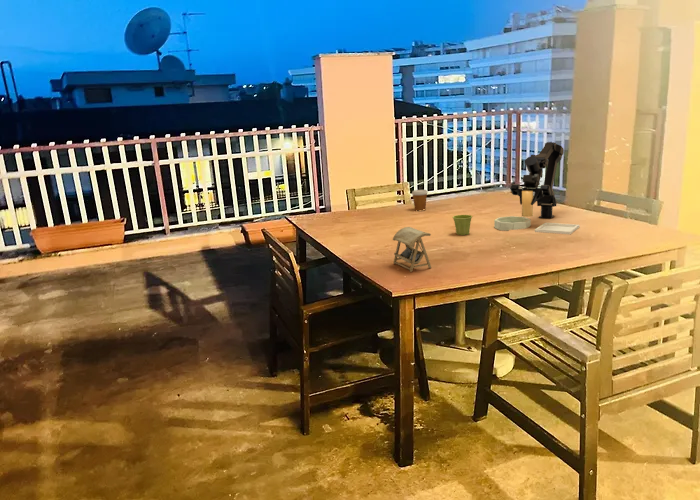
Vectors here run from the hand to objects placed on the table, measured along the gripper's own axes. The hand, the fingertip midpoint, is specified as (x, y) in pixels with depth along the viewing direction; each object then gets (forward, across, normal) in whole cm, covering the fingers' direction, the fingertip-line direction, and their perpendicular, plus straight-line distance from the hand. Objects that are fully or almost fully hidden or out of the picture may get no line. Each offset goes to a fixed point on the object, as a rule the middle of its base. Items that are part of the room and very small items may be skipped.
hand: (526, 204), depth 259 cm
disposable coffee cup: (-13, -76, +31) cm, 83 cm away
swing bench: (+63, -19, -46) cm, 80 cm away
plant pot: (+22, -24, -4) cm, 33 cm away
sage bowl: (+7, -8, +10) cm, 15 cm away
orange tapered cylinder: (+3, 0, +5) cm, 6 cm away
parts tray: (+8, +14, +10) cm, 19 cm away
